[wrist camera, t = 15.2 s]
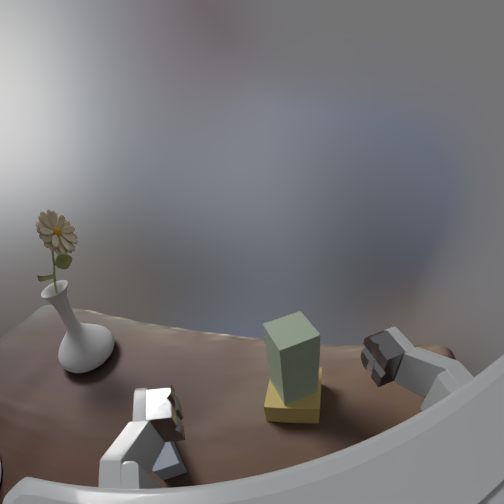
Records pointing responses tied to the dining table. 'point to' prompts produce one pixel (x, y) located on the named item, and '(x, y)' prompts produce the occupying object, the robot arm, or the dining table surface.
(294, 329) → the green brick
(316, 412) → the mustard brick
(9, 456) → the dining table surface
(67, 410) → the dining table surface
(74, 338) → the flower in vase
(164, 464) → the slate brick
